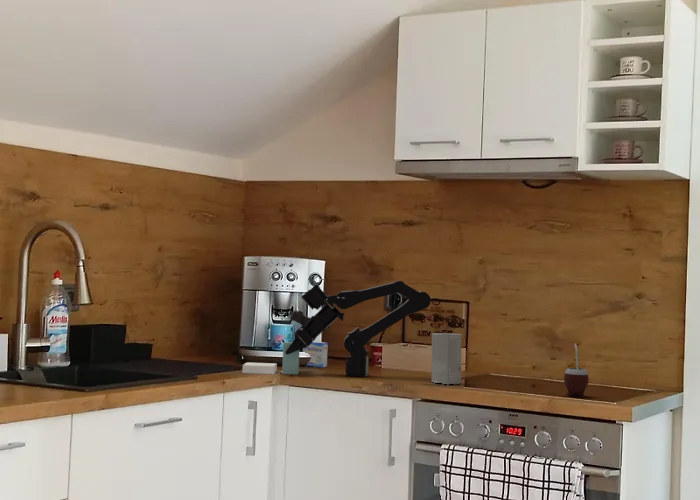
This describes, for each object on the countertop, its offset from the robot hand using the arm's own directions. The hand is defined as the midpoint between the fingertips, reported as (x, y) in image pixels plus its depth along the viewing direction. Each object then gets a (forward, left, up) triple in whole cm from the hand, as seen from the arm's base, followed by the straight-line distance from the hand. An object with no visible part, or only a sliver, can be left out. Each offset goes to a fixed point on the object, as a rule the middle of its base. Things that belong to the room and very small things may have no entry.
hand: (286, 352), depth 320 cm
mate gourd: (-92, +8, -7) cm, 93 cm away
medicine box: (0, -28, -7) cm, 29 cm away
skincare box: (-52, -1, -7) cm, 53 cm away
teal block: (-1, 0, -7) cm, 7 cm away
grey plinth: (+8, +2, -7) cm, 11 cm away
